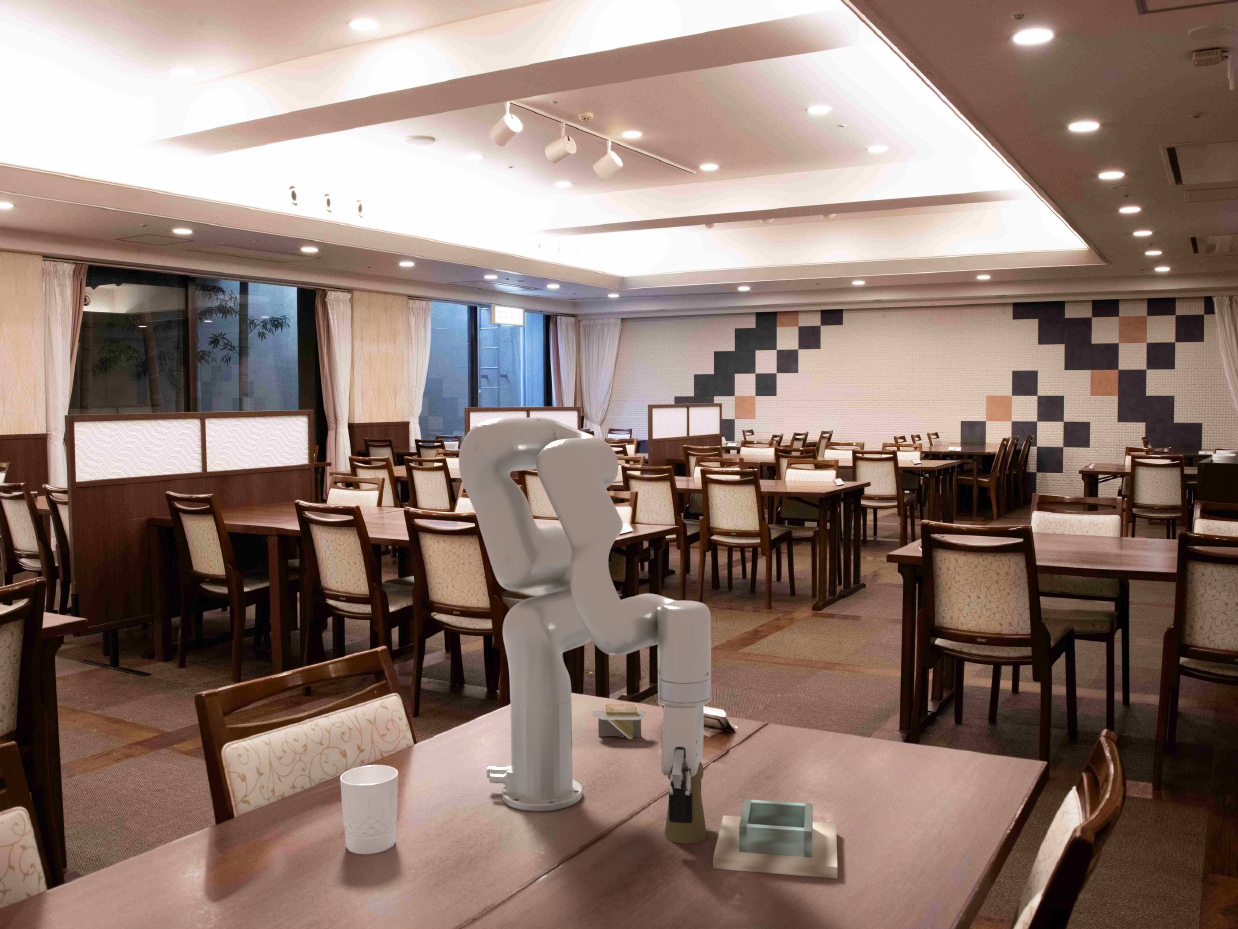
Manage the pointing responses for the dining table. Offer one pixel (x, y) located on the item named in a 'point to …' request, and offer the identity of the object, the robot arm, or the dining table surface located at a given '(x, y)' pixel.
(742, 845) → the shaker caddy
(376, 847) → the white cup
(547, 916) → the dining table surface
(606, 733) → the platform
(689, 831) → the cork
